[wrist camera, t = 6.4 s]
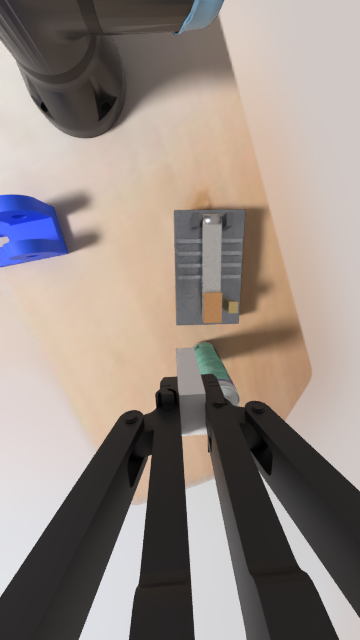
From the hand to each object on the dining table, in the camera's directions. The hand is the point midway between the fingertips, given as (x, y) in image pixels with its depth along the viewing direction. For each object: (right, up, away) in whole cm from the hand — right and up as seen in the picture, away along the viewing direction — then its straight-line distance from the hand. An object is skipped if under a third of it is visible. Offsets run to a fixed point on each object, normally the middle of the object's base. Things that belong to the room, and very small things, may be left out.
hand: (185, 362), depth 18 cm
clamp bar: (+5, +12, +18) cm, 22 cm away
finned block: (+5, +14, +25) cm, 29 cm away
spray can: (+5, -4, +29) cm, 30 cm away
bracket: (-32, +19, +22) cm, 43 cm away
